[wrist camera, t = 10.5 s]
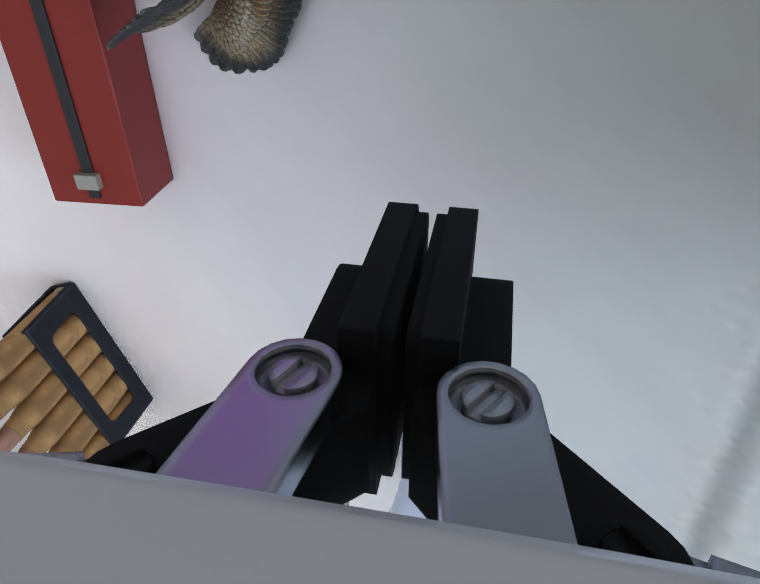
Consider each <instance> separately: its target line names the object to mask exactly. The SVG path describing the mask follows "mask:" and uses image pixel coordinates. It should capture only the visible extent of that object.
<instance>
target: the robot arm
mask: <svg viewBox="0 0 760 584" xmlns="http://www.w3.org/2000/svg"><path fill="white" fill-rule="evenodd" d="M478 210H479V209H469V208H457V207H449V211H448V214H437V216H436V220H435V224H434V228H433V232H432V235H431V239H430V243H429V247H428V228H429V213H425V212H419V206H418V204H409V203H397V202H389V203H388V205H387V208H386V210H385V212H384V215H383V217H382V220H381V222H380V224H379V227H378V229H377V232H376V234H375V236H374V239H373V241H372V243H371V246H370V248H369V251H368V253H367V255H366V258H365V260H364V263H363V265H362V266H361V265H351V264H340V265H339V266H338V268H337V269H336V271H335V273H334V276H333V278H332V280H331V282H330V284H329V286H328V288H327V290H326V292H325V294H324V296H323V298H322V301H321V303H320V305H319V307H318V309H317V311H316V313H315V315H314V317H313V319H312V321H311V323H310V325H309V328H308V330H307V332H306V334H305V336H304V338H303V339H302V338H297V339H285V340H282V341H278V342H275V343H271V344H269V345H268V346H266V347H264V348H262V349H260V350H259V351H257V352H256V353H255V354H254V355H253V356H252V357H251V358H250V359H249V360H248V361H247V362H246V364H245V365H244V366H243V367H242V369H241V370H240V371H239V372H238V373H237V375H236V376H235V377H234V378H233V380H232V381H231V382H230V383H229V384H228V386H227V387H226V388H225V389H224V391H223V392H222V393H221V394H220V395H219V397H218V398H217V399H216V400H215V401H213V402H211V403H208V404H206V405H203V406H201V407H199V408H196V409H194V410H191V411H189V412H187V413H184V414H182V415H179V416H177V417H175V418H172V419H170V420H167V421H165V422H163V423H160V424H158V425H155V426H153V427H151V428H148V429H146V430H143V431H141V432H139V433H136V434H134V435H131V436H129V437H127V438H124V439H122V440H119V441H117V442H115V443H112V444H110V445H108V446H107V447H105V448H103V449H101V450H99V451H97V452H96V453H95V454H93V455H92V456H91V457H90V458H89V459H85V457H84V454H83V452H82V451H75V452H49V453H16V452H10V451H3V450H0V584H760V572H759V571H756V570H753V569H750V568H748V567H745V566H742V565H739V564H736V563H733V562H731V561H728V560H725V559H722V558H719V557H716V556H714V555H711V556H710V558H709V560H708V562H704V561H701V560H699V559H696V558H693V557H690V556H689V555H688V553H687V551H686V550H685V548H684V547H683V546H682V545H681V544H680V543H679V542H678V541H677V540H676V539H675V538H674V537H673V536H672V535H671V534H670V533H669V532H668V531H667V530H666V529H665V528H663V527H662V526H661V525H660V524H659V523H657V522H656V521H655V520H654V519H653V518H651V517H650V516H649V515H648V514H647V513H645V512H644V511H643V510H642V509H641V508H639V507H638V506H637V505H636V504H635V503H633V502H632V501H631V500H630V499H629V498H627V497H626V496H625V495H624V494H623V493H621V492H620V491H619V490H618V489H617V488H615V487H614V486H613V485H612V484H611V483H609V482H608V481H607V480H606V479H605V478H603V477H602V476H601V475H600V474H599V473H597V472H596V471H595V470H594V469H593V468H591V467H590V466H589V465H588V464H587V463H585V462H584V461H583V460H582V459H581V458H579V457H578V456H577V455H576V454H575V453H573V452H572V451H571V450H570V449H569V448H567V447H566V446H565V445H564V444H563V443H561V442H560V441H559V440H558V439H557V438H555V437H554V436H553V435H552V434H551V433H550V431H549V427H548V423H547V419H546V415H545V411H544V407H543V403H542V399H541V395H540V393H539V391H538V389H537V387H536V385H535V384H534V383H533V382H532V381H531V380H530V379H529V378H528V377H527V376H526V375H525V374H523V373H521V372H520V371H518V370H516V369H515V368H513V367H511V352H512V315H513V281H509V280H499V279H489V278H479V277H472V273H473V262H474V252H475V242H476V232H477V222H478ZM427 249H428V251H427ZM402 432H403V436H402ZM401 436H402V479H409V490H408V497H409V498H410V500H411V501H412V502H413V503H414V504H415V505H416V507H417V508H418V509H419V510H420V511H421V513H422V514H423V515H424V516H425V517H426V518H427V519H424V518H418V517H412V516H406V515H401V514H395V513H389V512H383V511H377V510H371V509H365V508H359V507H353V506H349V501H350V500H352V499H354V498H356V497H358V496H359V495H361V494H363V493H369V494H375V495H377V491H378V487H379V482H380V478H381V475H383V476H390V477H392V475H393V472H394V468H395V463H396V459H397V454H398V450H399V445H400V441H401Z"/></svg>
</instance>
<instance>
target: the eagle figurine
mask: <svg viewBox="0 0 760 584" xmlns="http://www.w3.org/2000/svg"><path fill="white" fill-rule="evenodd" d="M204 1H205V0H162V1H160V2H159V4H158V5H157V6H155V7H149V8H146V9H143V10H141V11H140V14H137V15H135V16H134V17H133V18H132V21H131V22H129V23H127V25H126V26H124V27H123V28H122V29H120V30H119V31H118V33H116V34H115V35H114V36H113V37H112V38H111V39H110V40H109V41H108V43H107V49H108V50H109V49H113V48H114V47H115V46H116V45H118V43H120V42H122V41H124V40H125V39H126V38H127V37H129V36H131V35H134V34H137V33H144V32H150V31H153V30H156V29H158V28H161V27H166V26H169V25H171V24H174V23H176V22H177V21H179V20H180V19H182V18H183V17H185V16H186V15H188V14H189V13H191V12H193V11H194V9H195V8H197V7H199V6H200V4H201V3H202V2H204ZM301 2H302V0H217V1H216V4H215V6H214V7H213V10H212V12H211V15H210V16H209V17H208V18H207V19H206V20H205V21H203V23H202V24H201V25H200V26H199V27H198V28H197V30H196V32H195V33H194V38H195V39H196V40H197V41H199V42H200V46H201V51H202V52H204V53H206V54H209V60H210V63H211V64H213V65H219V67H220V69H221V70H222V71H225V72H226V71H229V70H233V71H234V73H236V74H241V73H243V72H244V71H245V70H246V69H247V68H248V69H249V70H250V72H253V73H255V72H256V71H257V70H258V69H260V70H267V69H268V68H270V67H272V65H273V63H278V61H279V58H280V57H282V56H283V54H284V51H283V49H284V48H285V47H286V44H287V42H288V37H287V35H289V34H290V32H291V28H292V27H293V24H294V21H293V19H294V18H296V17H297V16H298V12H299V11H300V9H301Z"/></svg>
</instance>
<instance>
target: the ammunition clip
mask: <svg viewBox="0 0 760 584" xmlns="http://www.w3.org/2000/svg"><path fill="white" fill-rule="evenodd" d="M152 400H153V398H152V396H151V395H150V393H149V392H148V391H147V389H146V388H145V386H144V385H143V383H142V382H141V380H140V379H139V377H138V376H137V374H136V373H135V371H134V370H133V369H132V367H131V366H130V364H129V363H128V361H127V360H126V358H125V357H124V355H123V354H122V352H121V351H120V349H119V348H118V347H117V345H116V344H115V342H114V341H113V339H112V338H111V336H110V335H109V333H108V332H107V330H106V329H105V327H104V326H103V325H102V323H101V322H100V320H99V319H98V317H97V316H96V314H95V313H94V311H93V310H92V308H91V307H90V305H89V304H88V303H87V301H86V300H85V298H84V297H83V295H82V294H81V292H80V291H79V289H78V288H77V286H76V285H75V284H74V283H71V282H69V283H64V284H60V285H55V286H51V287H50V288H49V289H48V290H47V291H46V292H45V293H44V294H43V295H42V296H41V297H40V298H39V299H38V300H37V301H36V302H35V303H34V304H33V305H32V306H31V307H30V308H29V309H28V310H27V311H26V312H25V313H24V314H23V315H22V316H21V317H20V318H19V319H18V320H17V321H16V322H15V323H14V324H13V326H12V327H11V328H10V329H9V330H8V331H7V332H6V333H5V334H4V335H3V339H2V340H1V341H0V420H1V419H2V418H3V417H4V416H5V415H6V414H7V413H8V412H9V411H10V410H12V409H13V408H15V407H16V406H17V407H16V408H15V410H14V411H13V413H12V414H11V416H10V418H9V419H8V420H7V422H6V423H5V424H4V425H3V426H2V428H1V430H0V450H3V451H11V450H12V449H13V448H14V446H15V445H16V444H17V443H18V442H19V441H20V440H21V439H22V438H23V437H24V436H25V435H26V434H27V433H28V432H29V431H30V430H32V431H31V433H30V435H29V437H28V438H27V440H26V441H25V443H24V444H23V445H22V447H21V448H20V449H19V451H18V453H46V452H47V451H48V450H49V449H50V450H49V452H75V451H82V452H83V454H84V457H85V459H89V458H90V457H91V456H92V455H93V454H95V453H96V452H97V451H99V450H101V449H103V448H105V447H107V446H108V445H110V444H112V443H115V442H117V441H119V440H122V439H124V438H125V437H126V435H127V434H128V432H129V431H130V430H131V428H132V427H133V426H134V424H135V423H136V422H137V420H138V419H139V417H140V416H141V415H142V413H143V412H144V411H145V409H146V408H147V407H148V405H149V404H150V403H151V401H152ZM49 452H48V453H49Z"/></svg>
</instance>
